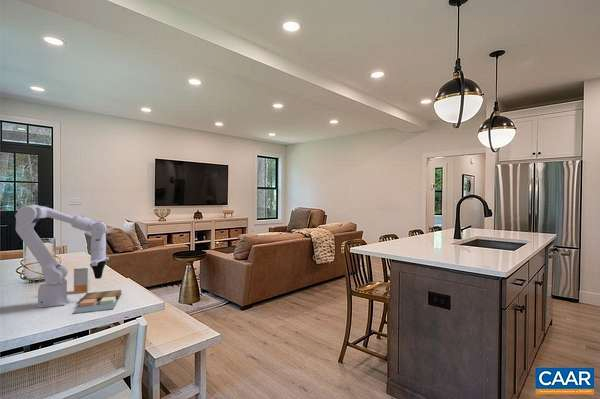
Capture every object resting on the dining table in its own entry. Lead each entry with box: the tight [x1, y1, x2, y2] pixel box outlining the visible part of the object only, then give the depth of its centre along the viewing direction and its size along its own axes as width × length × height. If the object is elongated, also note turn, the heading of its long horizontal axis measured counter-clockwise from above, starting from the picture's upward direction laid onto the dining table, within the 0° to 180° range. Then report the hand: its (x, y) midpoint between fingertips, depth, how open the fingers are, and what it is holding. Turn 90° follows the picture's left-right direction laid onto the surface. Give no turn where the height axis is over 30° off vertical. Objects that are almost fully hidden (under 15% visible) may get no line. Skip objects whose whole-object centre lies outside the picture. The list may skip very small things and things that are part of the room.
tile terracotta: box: [79, 298, 97, 307], centre depth 133 cm, size 5×5×2 cm
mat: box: [72, 299, 119, 315], centre depth 132 cm, size 14×12×1 cm
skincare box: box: [73, 265, 92, 294], centre depth 151 cm, size 6×4×12 cm
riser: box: [80, 289, 122, 303], centre depth 142 cm, size 14×9×2 cm, turn 112°
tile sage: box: [100, 296, 116, 305], centre depth 136 cm, size 5×5×2 cm
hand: (98, 278), depth 141 cm, fingers closed
